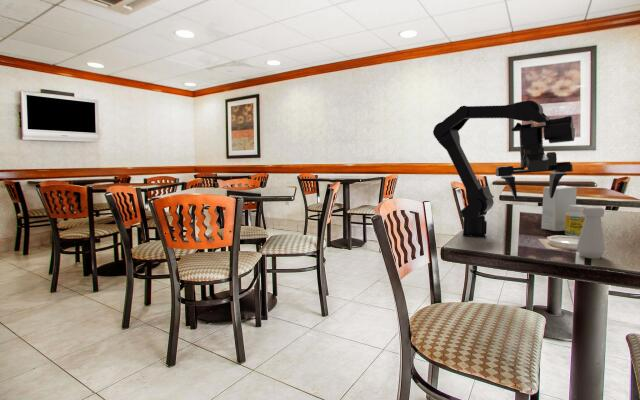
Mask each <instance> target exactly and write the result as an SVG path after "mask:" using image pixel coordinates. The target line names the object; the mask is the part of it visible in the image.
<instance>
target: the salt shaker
mask: <svg viewBox="0 0 640 400" xmlns="http://www.w3.org/2000/svg"><path fill="white" fill-rule="evenodd" d="M583 215H585V220H584V223H583V227H582V230H581V234H580V236H578V237H579V241H578V244H577V250H576V251H577V252H578V254H579V256H580V257H582V258H587V259H593V260H595V259H598V260H599V259H601V258H602V256H603V255H604V254H605V253H606V252H605V250H606V245H605V238H604V233H603V232H604V231H603V223H602V217H604V215H605V208H603V207H601V206H594V205H589V206H584V209H583Z"/></svg>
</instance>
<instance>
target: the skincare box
mask: <svg viewBox="0 0 640 400" xmlns="http://www.w3.org/2000/svg"><path fill="white" fill-rule="evenodd" d="M542 192H543V193H542V211H541V212H542V213H541V227H540V228H541V229H542V230H549V231H553V232H561V231H562V232H563V231H565V221H566V213H567V212H568V211H570V210H569V205H577V194H578V187H576V186H571V185H570V186H568V185H557V187H556V190H555V193H554V195H553V198H550V194H549V186H544V187H543V191H542Z"/></svg>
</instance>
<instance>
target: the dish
mask: <svg viewBox="0 0 640 400" xmlns="http://www.w3.org/2000/svg"><path fill="white" fill-rule="evenodd" d="M579 237H580V236H572V235H561V234H560V235H559V234H557V235H556V234H555V235H550V236H547V237H546V239H548V244H549V245H551V246H555V247H559V248H564V249H573V250H572V251H578V250H577V244H578V241H579Z"/></svg>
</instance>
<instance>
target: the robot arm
mask: <svg viewBox="0 0 640 400" xmlns="http://www.w3.org/2000/svg"><path fill="white" fill-rule="evenodd" d="M470 119H509V120H515V121H519V122H517V123H516V125H514V126H513V127H512V128H511V132H519V149H520V150H519V153H520V156H519V157H520V166H519V167H514V166H513V165H506V166H505V165H503V166H497V167H496V168H495V176H496V177H500V179H501V180H505V182H506V184H507V185H508V188H509V189H510V191H511V194H512V196H513V198H514V200H515V201H517V200H518V195H517V194H518V193H517V187H516V176H513V175H514V174H527V173H541V172H551V173H549V183H548V184H549V186H548V187H549V194H550V198H553V195H554V193H555V190H556V187H557V186H559V185H558V184H559V182H560V180H561V179H562V178H563V177H564V176H567V174H568V173H569V172H570V173H571V172H574V171H573V169H574V168H573V164H572V162H570V161H559V162H557V153H556V152H555V151H550V152H547V153H545V149H544V145H543V144H544V143H543V142H544V140H545V141H548V143H549V144H557V143H558V144H559V143H567V142H574V141H575V138H576V137H575V136H576V130H575V125H574V121H573V116H571V115H568V116H567V115H566V116H564V117H559V118H551V119H550V117H548V116H547V115H546V114H545V113H544V108H543V105H541V104H540V103H538V102H536V101H534V100H529V99H528V100H523V101H518V102H513V103H511V104H505V105H472V106H467V105H462V106H460V107H458V108H457V110H455V111H454V112H453V113H451V114H450V115H449V116H447V117H446V118H445V119H443V121H441V122H438V123H437V124H435V126H434V128H433V131H432V134H433V136H434V138H435V139H436V141H437V142H438V143H439V144H440V145H441V147H443V148H444V149H445V150H446V152H447V153H448V156H449V158H450V159H451V162H452V164H453V166H454V168H455V170H456V172H457V175H458V176H459V178H460V181H461V182H462V184H463V186H464V189H465V199H466V201H467V205H466V206H465V207H464V208H462V209H461V210H460V214H461V218H463V223H462V224H463V226H462V227H463V229H462V236H463V237H476V238H477V237H478V238H485V237H486V235H487V230H488V228H487V223H488V222H487V220H486V217H485V216H486V215H487V213H488V211H489V210H491V209H492V208H493V206H494V198H495V196H494V195H493V194H492V193H491V189H490V187H489V185H487V186H483V185H481V183H480V182H479V180H478V178H477V176H476V174H475V172H474V170H473V168H472V166H471V164H470V162H469V160H468V158H467V155H466V154H465V152H464V150H463V148H462V146H461V139H460V134H459V133H460V132H459V131H460V130H461V129H462V128H464V126H465V125H466V123H467V121H469V120H470ZM520 121H521V122H526V123H525V124H522V123H520ZM527 122H528V123H527ZM534 122H535V123H537V124H540V125H537V126H535V125H534ZM543 138H544V140H543ZM526 168H527V169H526Z"/></svg>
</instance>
